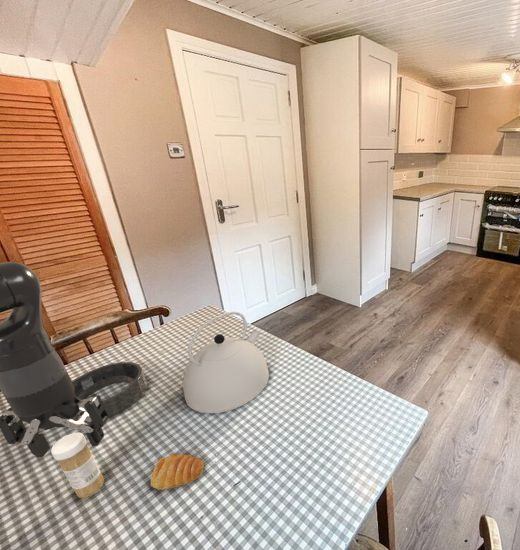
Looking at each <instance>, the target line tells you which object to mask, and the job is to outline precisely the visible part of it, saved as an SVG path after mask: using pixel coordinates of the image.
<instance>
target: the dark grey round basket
mask: <svg viewBox="0 0 520 550" xmlns="http://www.w3.org/2000/svg"><path fill="white" fill-rule="evenodd" d="M71 381H72V383H73V385H74V388H75V396H76V397H77V398H79V399H80V400H84V399H88V398H90V397H91V396H92V395H93V394H95V393H96V392H98V391H100V390H103V389H105V388H106V387H109V386H112V385H116V384H122V383H124V384H129V385H128V386H127V387H125V388H124V389H122V390H121V391H118V392H117V393H116V394H114V395H112V396H110V397H107V398H105V399H102V401H103V403H104V405H105V407H106V409H107V411H108V412H109V414H110V417H109V418H108V419H111V418H113V417H116V416H117V415H119V414H121V413H123V412H125V411H126V410H128V409H130V407H133V405H135V404H136V403H137V402H138V401H139V400H140V399H141V398H142V397H143V396H144V394H145V392H146V391H147V389H148V382H147V378H146V375H145V373H144V370H143V367H142V366H141V365H140V364H138V363H137V362H133V361H119V362H113V363H109V364H106V365H102V366H98V367H97V368H94V369H91V370H89V371H87V372H85V373H83V374H81V375H79V376H77V377H76V378H74V379H73V380H71ZM79 417H80V416H79V415H78V414H76V416H75V417H74V419H73V420H74V421H77V420H78V419H79ZM84 423H87V424H90V422H88V421H85V420H84Z"/></svg>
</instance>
